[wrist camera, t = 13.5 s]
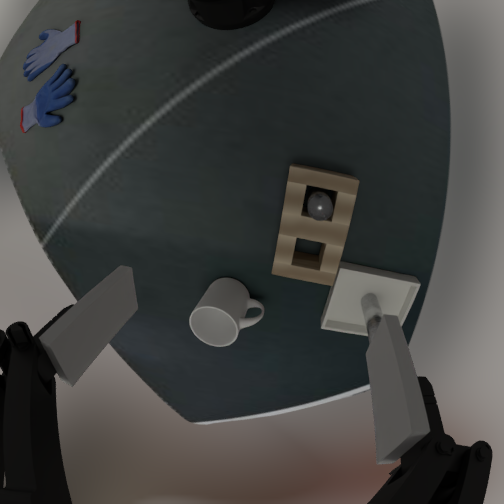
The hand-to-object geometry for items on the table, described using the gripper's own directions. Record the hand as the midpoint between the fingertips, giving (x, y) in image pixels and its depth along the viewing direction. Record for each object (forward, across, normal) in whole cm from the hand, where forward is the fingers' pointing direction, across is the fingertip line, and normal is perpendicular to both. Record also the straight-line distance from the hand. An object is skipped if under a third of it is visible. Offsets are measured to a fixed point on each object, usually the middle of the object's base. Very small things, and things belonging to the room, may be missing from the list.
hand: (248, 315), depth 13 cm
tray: (+33, +18, -18) cm, 42 cm away
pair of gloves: (+36, -62, +26) cm, 76 cm away
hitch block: (+34, +4, -5) cm, 34 cm away
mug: (+34, -7, -23) cm, 41 cm away
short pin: (+34, +4, -1) cm, 34 cm away
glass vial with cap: (+33, +18, -18) cm, 42 cm away
